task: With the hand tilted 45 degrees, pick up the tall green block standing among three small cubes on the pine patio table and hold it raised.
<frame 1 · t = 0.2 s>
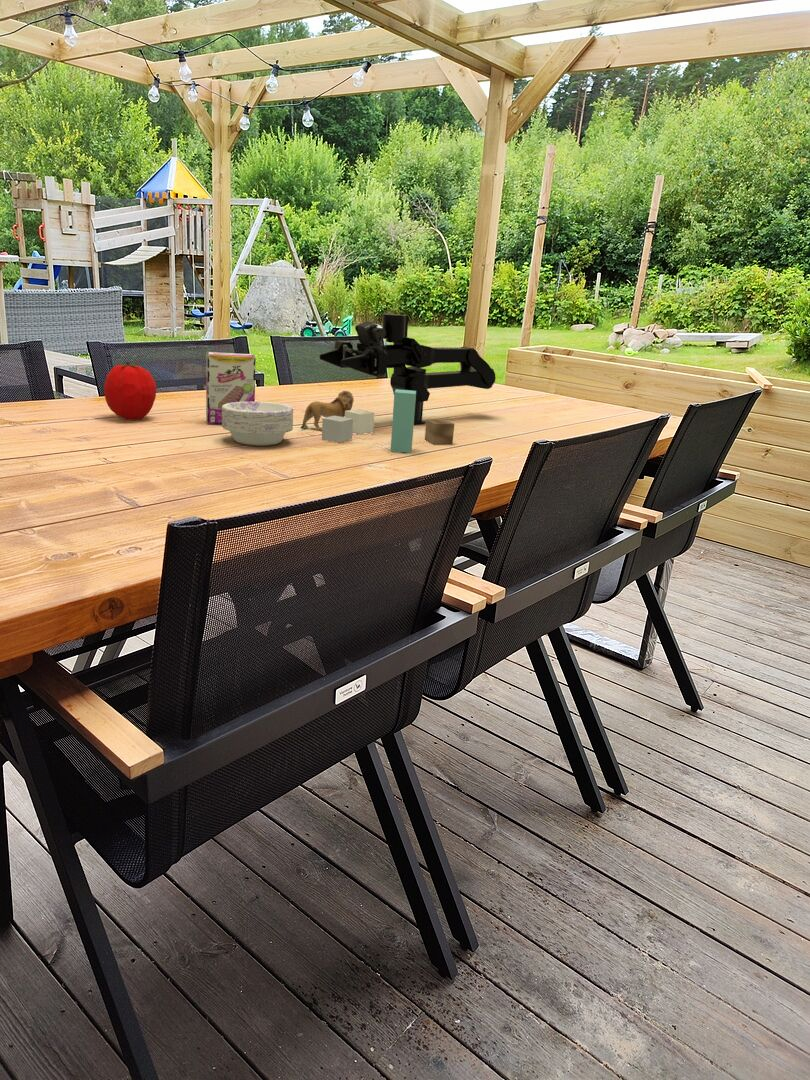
hand: (330, 359, 182), 16 cm above the table, tool horizontal, fingers open, 9 cm apart
paper bowls: (257, 442, 168), on the table
off-white cube: (358, 432, 186), on the table
green block: (401, 450, 170), on the table
candy bar box: (230, 424, 185), on the table
grey cube: (336, 440, 176), on the table
tomato: (131, 419, 181), on the table
walnut cube: (438, 442, 181), on the table
lion figurine: (327, 429, 188), on the table
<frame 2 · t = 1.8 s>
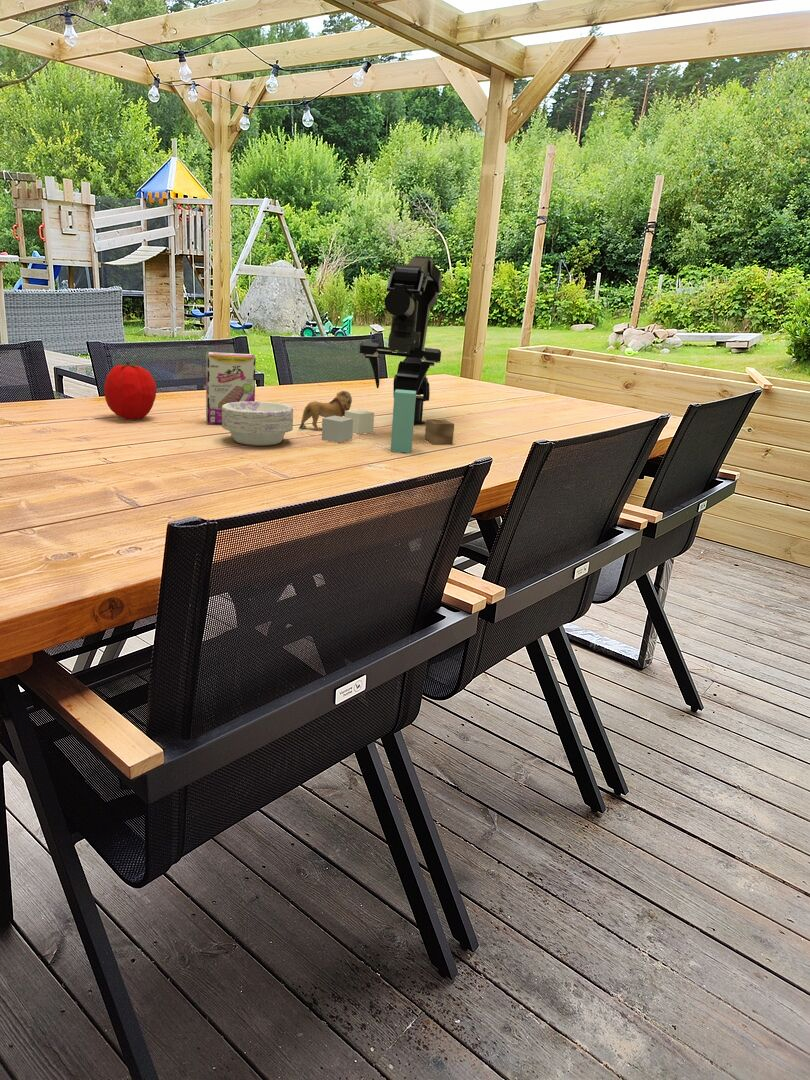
hand: (397, 390, 180), 11 cm above the table, tool pointing down, fingers open, 9 cm apart
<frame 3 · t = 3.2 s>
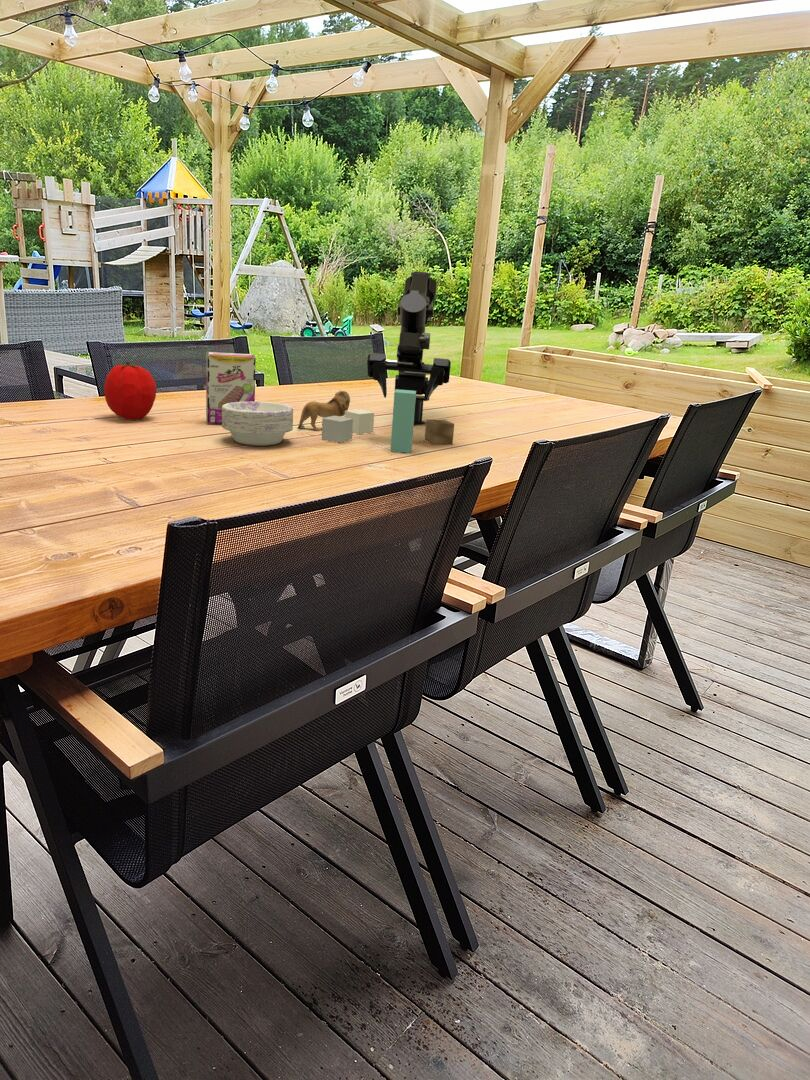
hand: (405, 398, 170), 11 cm above the table, tool tilted 45°, fingers open, 9 cm apart
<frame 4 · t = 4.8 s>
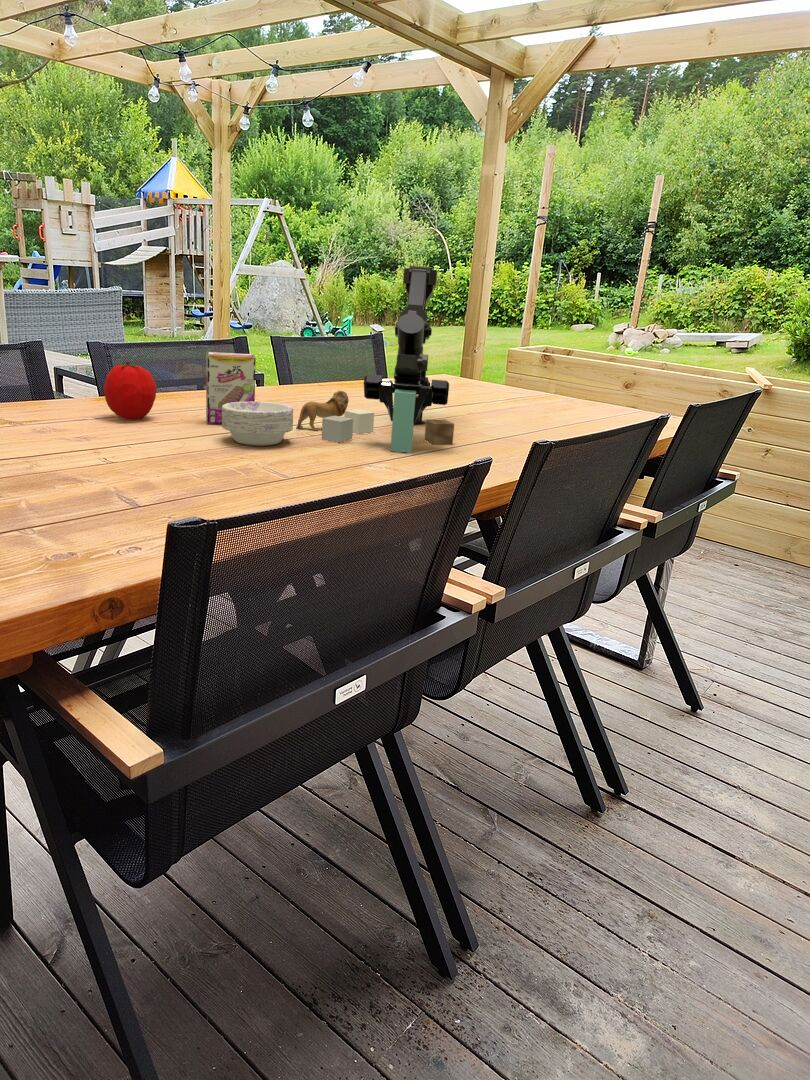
hand: (403, 421, 167), 7 cm above the table, tool tilted 45°, fingers closed on green block, 4 cm apart
green block: (401, 450, 170), on the table, touching gripper
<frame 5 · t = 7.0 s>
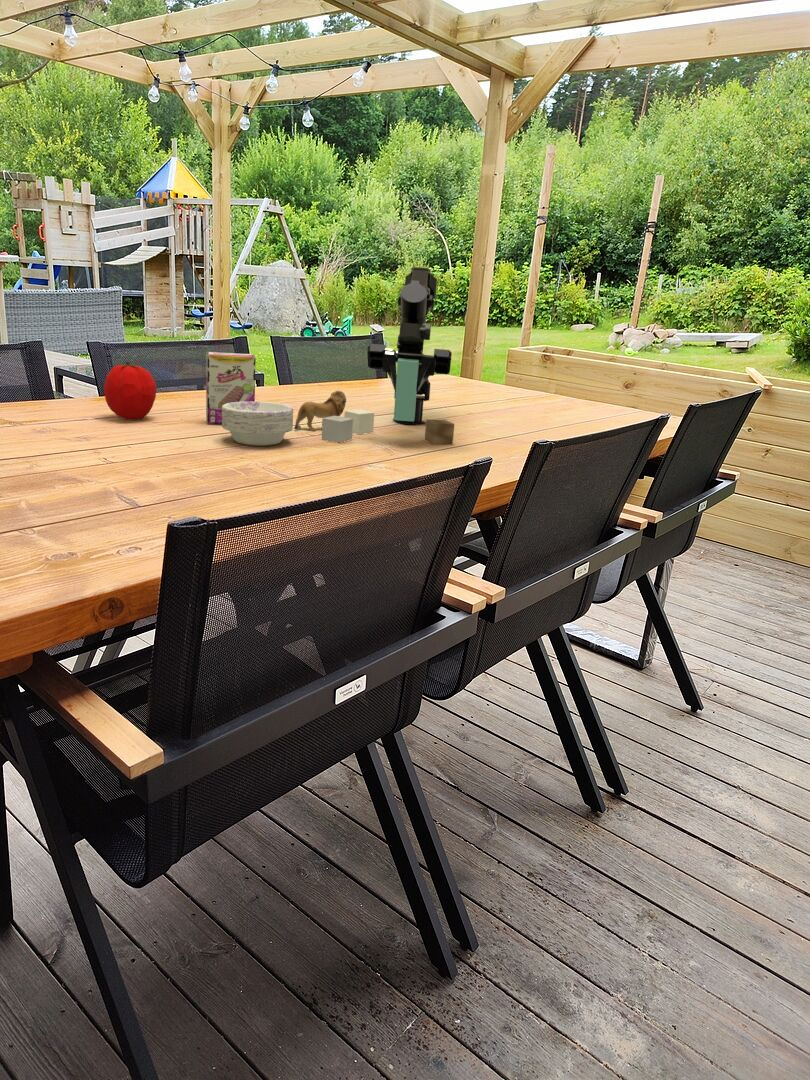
hand: (406, 389, 169), 13 cm above the table, tool tilted 45°, fingers closed on green block, 4 cm apart
green block: (404, 418, 173), point 6 cm above the table, touching gripper
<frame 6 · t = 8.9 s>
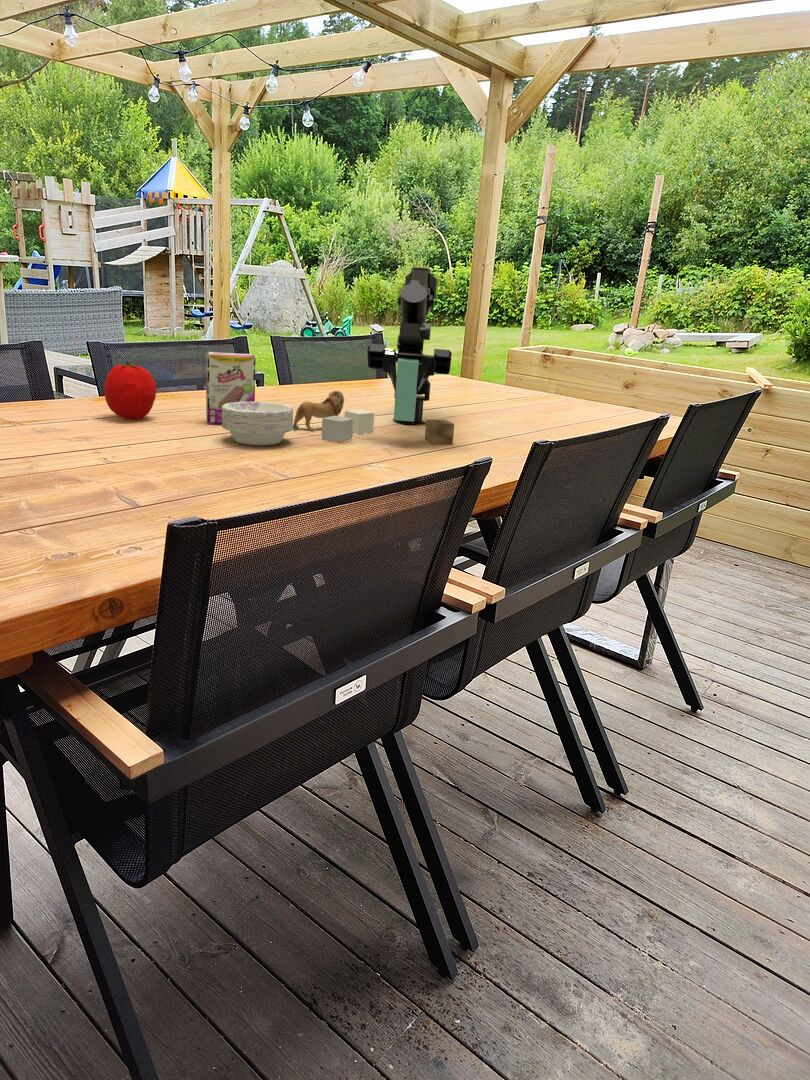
hand: (406, 389, 169), 13 cm above the table, tool tilted 45°, fingers closed on green block, 4 cm apart
green block: (404, 418, 173), point 6 cm above the table, touching gripper
at the end: the gripper is holding green block; green block point 6.2 cm above the table; grey cube moved 0.1 cm from its start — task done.
